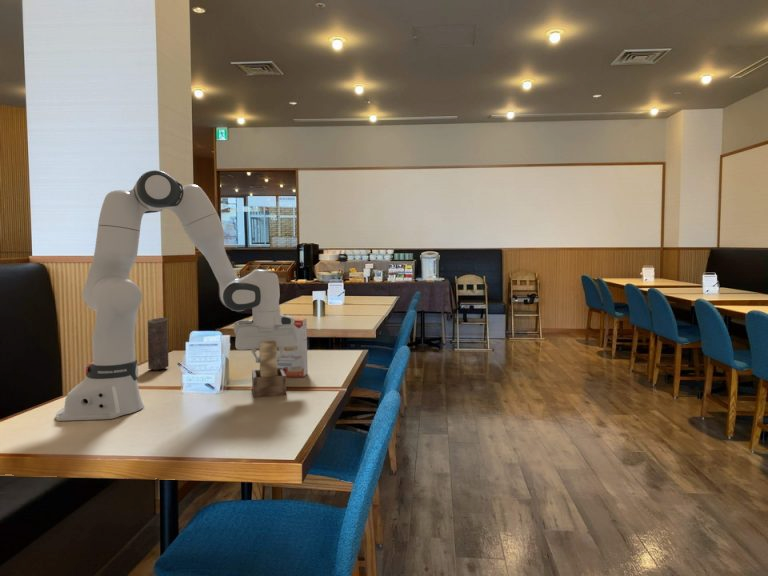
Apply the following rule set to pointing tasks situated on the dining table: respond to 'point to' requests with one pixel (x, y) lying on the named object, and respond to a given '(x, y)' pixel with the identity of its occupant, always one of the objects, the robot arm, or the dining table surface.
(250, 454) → the dining table surface
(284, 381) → the caddy
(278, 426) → the dining table surface
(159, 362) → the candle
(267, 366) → the oak block
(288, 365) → the cracker box
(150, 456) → the dining table surface
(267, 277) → the robot arm
